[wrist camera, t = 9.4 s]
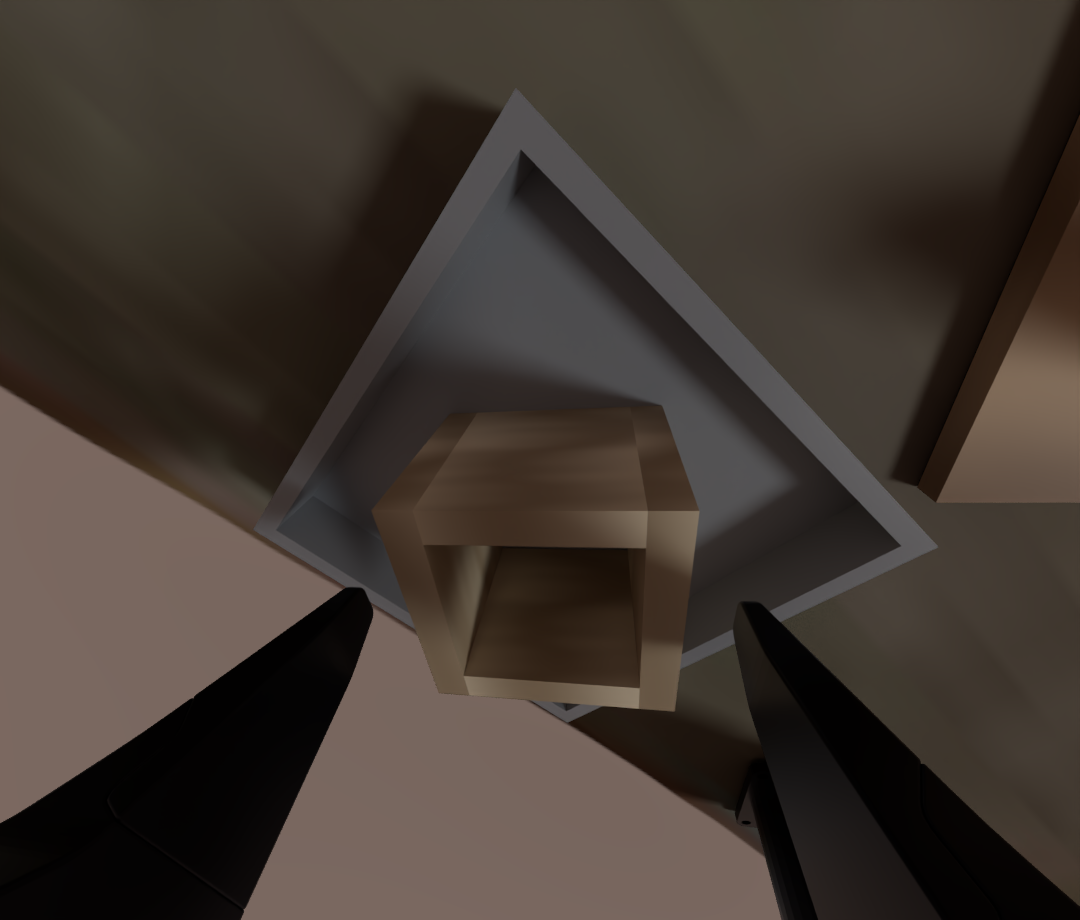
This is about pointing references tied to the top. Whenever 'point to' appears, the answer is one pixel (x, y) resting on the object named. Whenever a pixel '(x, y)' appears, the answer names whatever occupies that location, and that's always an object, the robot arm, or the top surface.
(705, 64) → the top surface
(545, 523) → the hollow wooden box
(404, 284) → the slate tray
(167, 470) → the top surface
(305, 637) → the robot arm
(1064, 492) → the stake block
